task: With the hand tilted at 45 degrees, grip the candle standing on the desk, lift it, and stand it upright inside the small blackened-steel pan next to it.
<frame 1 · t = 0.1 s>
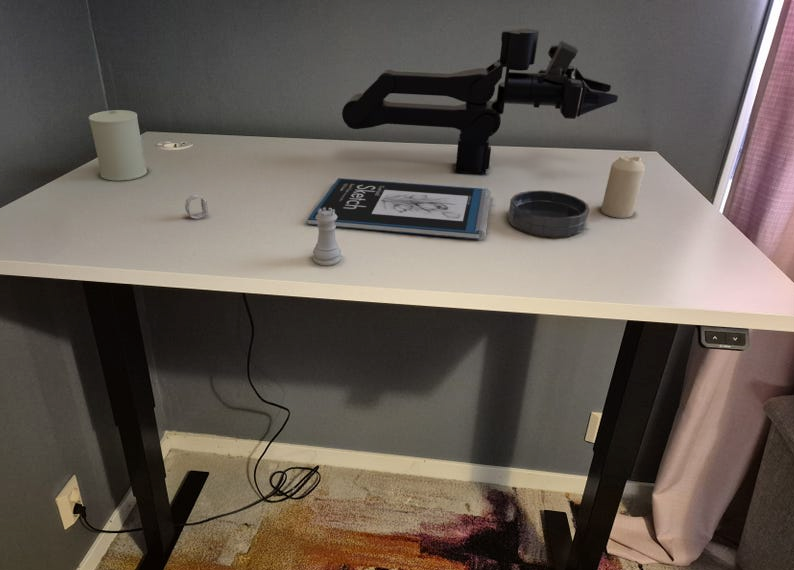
hand: (613, 93, 122), 17 cm above the table, tool horizontal, fingers open, 9 cm apart
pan: (545, 223, 111), on the table
rook chess piece: (327, 261, 98), on the table
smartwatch: (198, 218, 112), on the table
can: (124, 174, 131), on the table
candle: (616, 213, 115), on the table
sketchbook: (403, 211, 115), on the table
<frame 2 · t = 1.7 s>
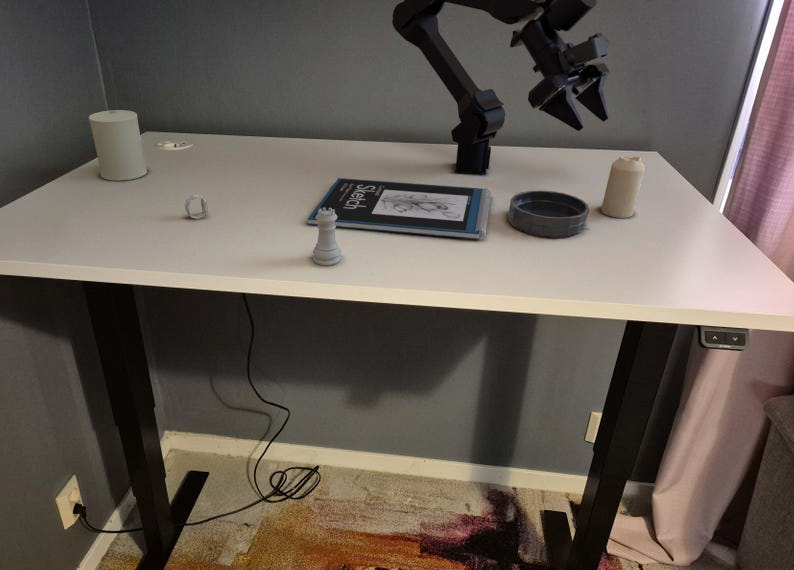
hand: (594, 124, 113), 14 cm above the table, tool tilted 45°, fingers open, 9 cm apart
nothing on the table moved.
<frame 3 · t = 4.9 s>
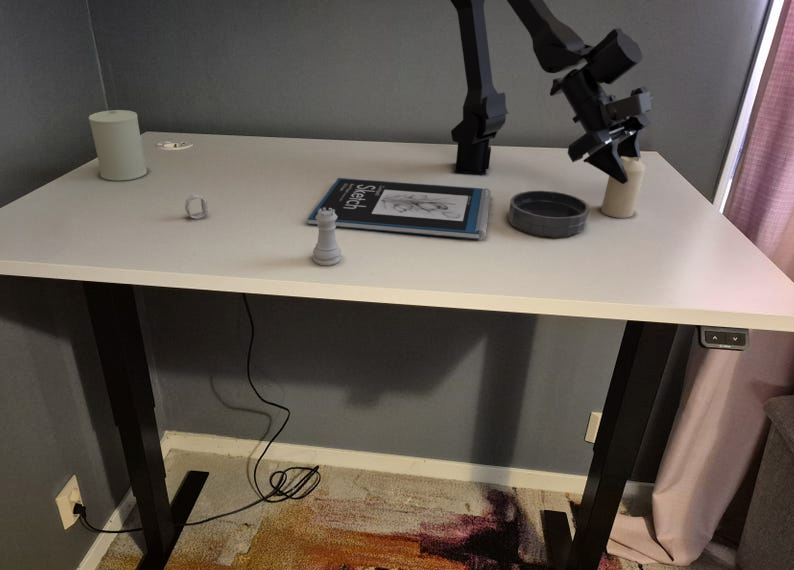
hand: (633, 178, 111), 7 cm above the table, tool tilted 45°, fingers closed on candle, 5 cm apart
candle: (616, 213, 115), on the table, touching gripper
everything else where it was.
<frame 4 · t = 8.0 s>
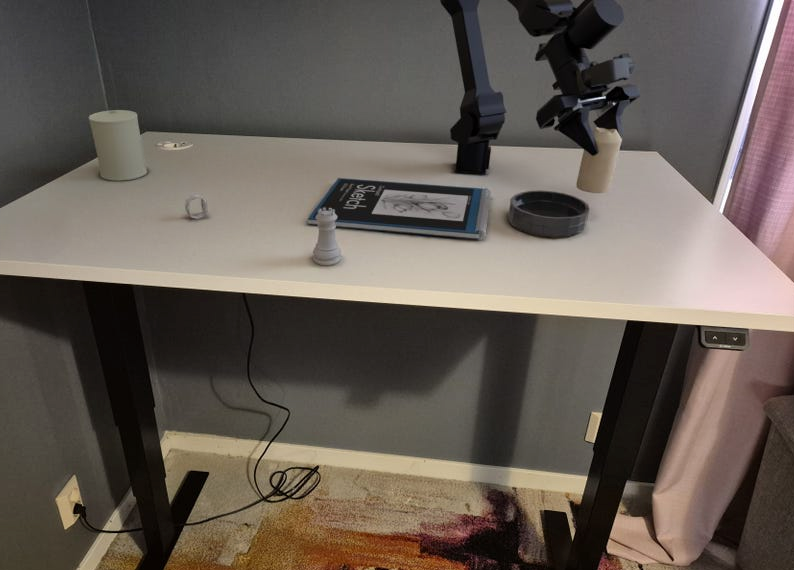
hand: (607, 151, 105), 12 cm above the table, tool tilted 45°, fingers closed on candle, 5 cm apart
candle: (592, 189, 109), point 5 cm above the table, touching gripper
everything else where it was.
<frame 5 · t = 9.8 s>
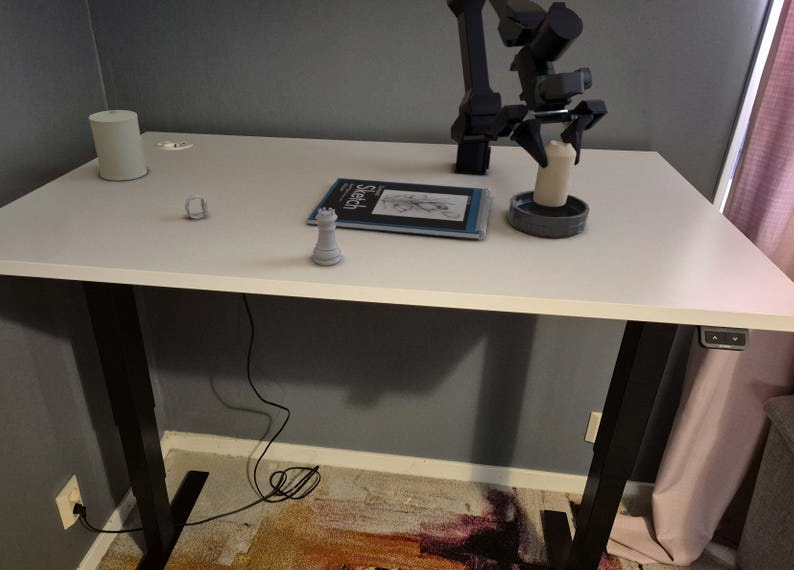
hand: (560, 165, 104), 11 cm above the table, tool tilted 45°, fingers closed on candle, 5 cm apart
candle: (548, 202, 109), point 4 cm above the table, touching gripper
everything else where it was.
when the fingers open (7 cm above the table, at t = 11.2 s): candle stays where it is, resting on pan.
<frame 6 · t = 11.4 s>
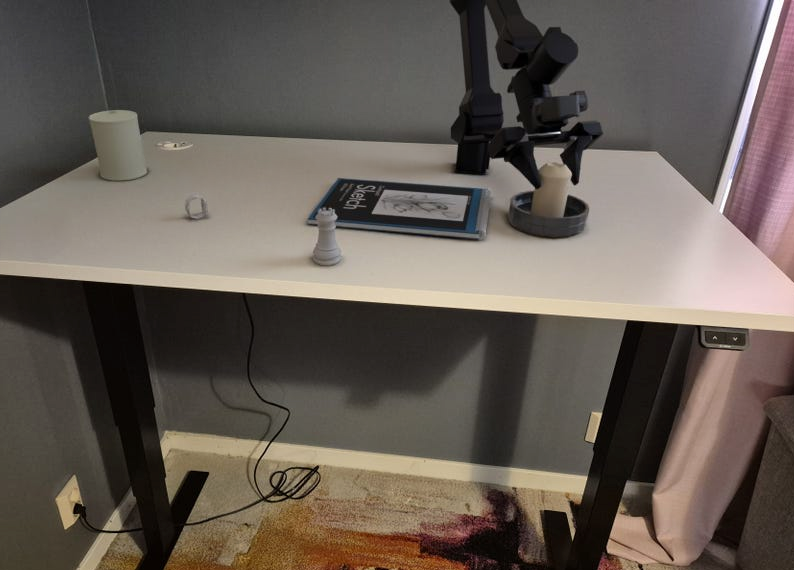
hand: (557, 186, 106), 7 cm above the table, tool tilted 45°, fingers open, 7 cm apart
candle: (545, 221, 111), resting on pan
everything else where it was.
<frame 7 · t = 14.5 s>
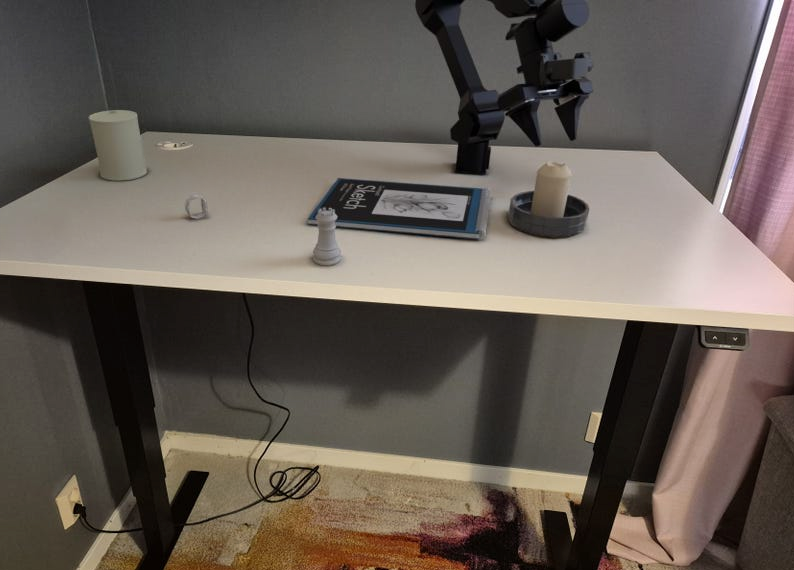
hand: (556, 143, 113), 11 cm above the table, tool tilted 30°, fingers open, 9 cm apart
nothing on the table moved.
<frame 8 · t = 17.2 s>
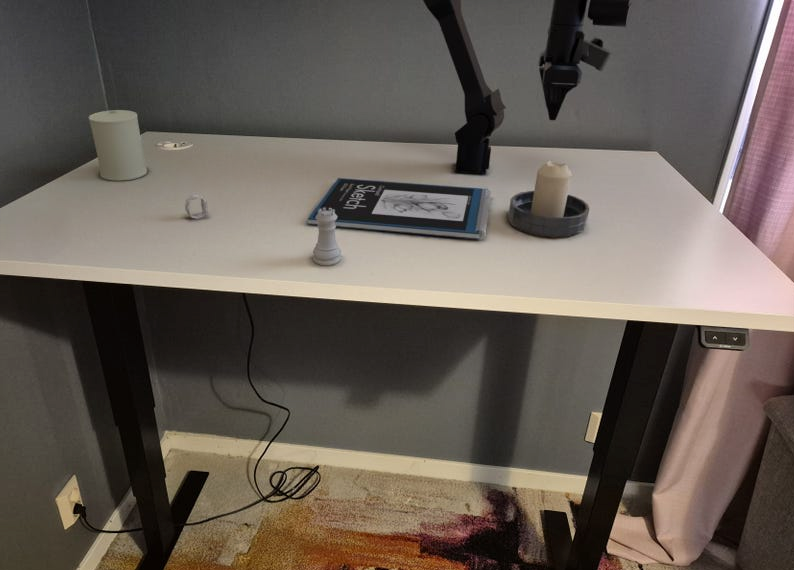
hand: (550, 114, 122), 13 cm above the table, tool pointing down, fingers open, 9 cm apart
nothing on the table moved.
at the end: candle 0.2 cm off-centre in the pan, point 0.3 cm above the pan's base; candle tilted 0°; the gripper is holding nothing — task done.
